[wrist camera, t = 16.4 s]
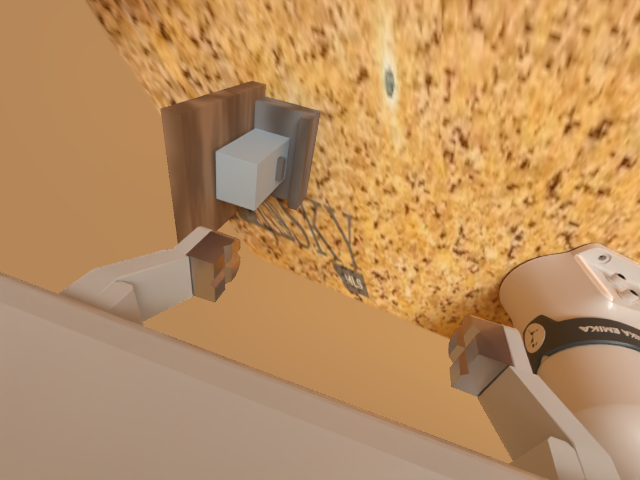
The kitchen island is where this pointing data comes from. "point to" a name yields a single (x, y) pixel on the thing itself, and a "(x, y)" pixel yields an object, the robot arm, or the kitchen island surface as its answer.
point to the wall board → (218, 131)
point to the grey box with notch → (251, 168)
